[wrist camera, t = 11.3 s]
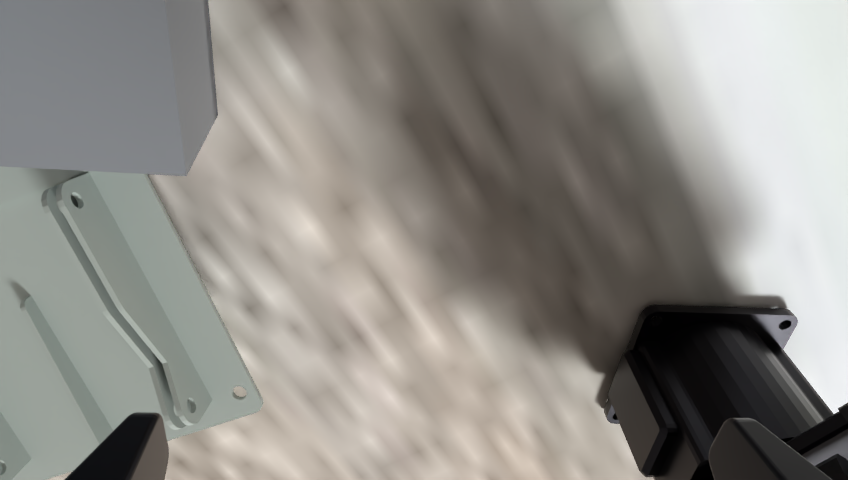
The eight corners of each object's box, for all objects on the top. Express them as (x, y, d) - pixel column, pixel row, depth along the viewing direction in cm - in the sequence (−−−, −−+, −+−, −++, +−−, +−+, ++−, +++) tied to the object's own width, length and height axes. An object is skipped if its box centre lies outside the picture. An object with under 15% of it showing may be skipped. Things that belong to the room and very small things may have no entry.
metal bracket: (318, 445, 20) (-77, 566, 22) (344, 355, 25) (28, 458, 27) (91, -10, 16) (-370, 189, 18) (182, 1, 21) (-177, 152, 23)
